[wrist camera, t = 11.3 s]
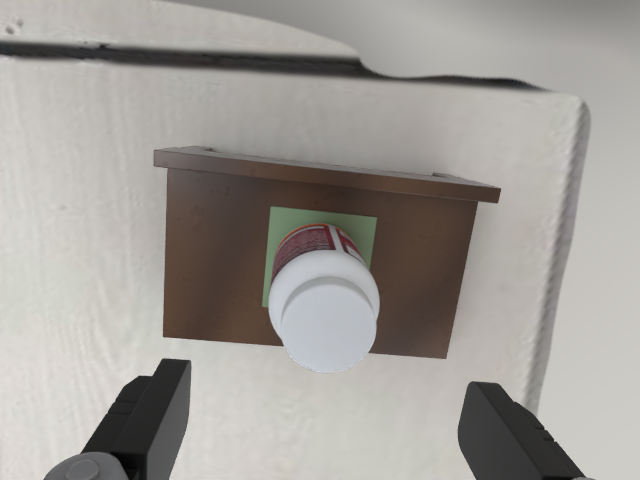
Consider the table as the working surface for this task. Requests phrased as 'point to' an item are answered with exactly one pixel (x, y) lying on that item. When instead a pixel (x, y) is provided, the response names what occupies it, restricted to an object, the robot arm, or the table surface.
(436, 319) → the shelf
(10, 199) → the table surface
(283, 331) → the pill bottle
